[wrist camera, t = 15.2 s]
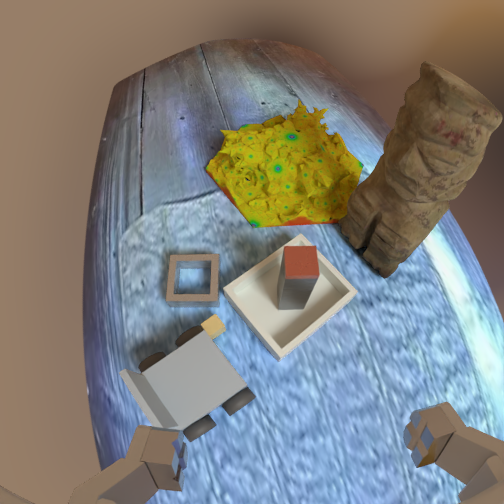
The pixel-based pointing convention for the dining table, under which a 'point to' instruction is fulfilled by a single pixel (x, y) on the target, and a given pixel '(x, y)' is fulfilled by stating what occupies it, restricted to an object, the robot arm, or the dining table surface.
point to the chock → (213, 326)
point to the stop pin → (297, 276)
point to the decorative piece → (286, 171)
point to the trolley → (187, 385)
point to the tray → (286, 321)
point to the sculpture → (419, 167)
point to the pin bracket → (193, 263)
